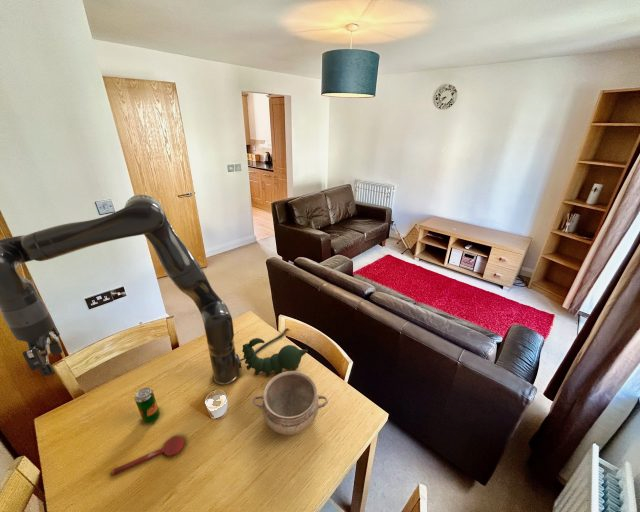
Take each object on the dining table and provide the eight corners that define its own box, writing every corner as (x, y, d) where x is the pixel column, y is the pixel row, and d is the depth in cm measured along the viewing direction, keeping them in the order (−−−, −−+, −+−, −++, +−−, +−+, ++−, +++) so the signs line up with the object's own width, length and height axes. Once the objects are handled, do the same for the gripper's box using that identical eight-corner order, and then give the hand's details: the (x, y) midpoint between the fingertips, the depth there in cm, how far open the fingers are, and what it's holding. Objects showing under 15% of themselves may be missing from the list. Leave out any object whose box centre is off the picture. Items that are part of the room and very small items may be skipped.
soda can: (152, 425, 90) (143, 401, 85) (139, 422, 91) (129, 398, 86) (163, 411, 95) (155, 388, 89) (151, 408, 95) (142, 385, 90)
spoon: (183, 434, 88) (182, 431, 87) (184, 450, 84) (184, 448, 83) (113, 464, 80) (112, 462, 79) (111, 484, 75) (110, 482, 75)
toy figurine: (248, 386, 107) (311, 374, 110) (239, 350, 98) (307, 338, 102) (249, 367, 115) (308, 356, 118) (241, 333, 107) (304, 322, 110)
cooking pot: (248, 445, 85) (245, 421, 80) (259, 392, 103) (257, 369, 97) (328, 445, 86) (329, 420, 81) (325, 392, 103) (327, 369, 98)
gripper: (38, 329, 66) (64, 376, 73) (55, 299, 77) (76, 342, 84) (-5, 339, 62) (26, 388, 69) (19, 306, 74) (44, 351, 81)
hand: (53, 363), depth 77 cm, fingers open, 8 cm apart
